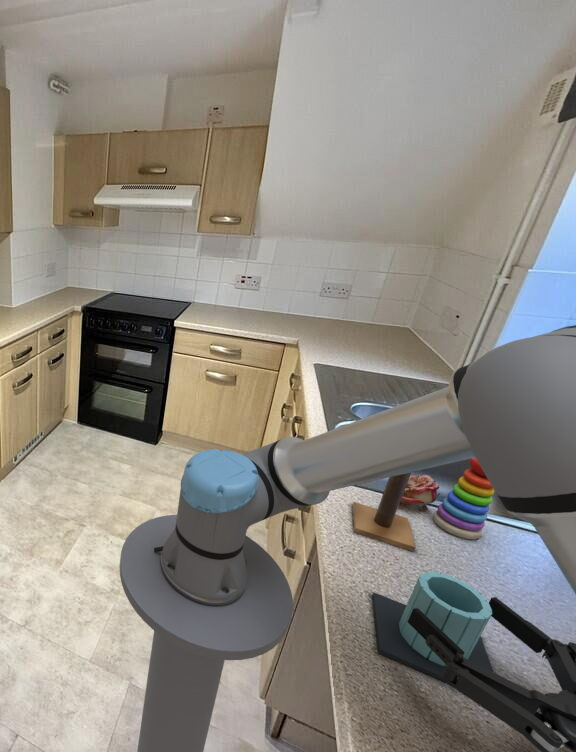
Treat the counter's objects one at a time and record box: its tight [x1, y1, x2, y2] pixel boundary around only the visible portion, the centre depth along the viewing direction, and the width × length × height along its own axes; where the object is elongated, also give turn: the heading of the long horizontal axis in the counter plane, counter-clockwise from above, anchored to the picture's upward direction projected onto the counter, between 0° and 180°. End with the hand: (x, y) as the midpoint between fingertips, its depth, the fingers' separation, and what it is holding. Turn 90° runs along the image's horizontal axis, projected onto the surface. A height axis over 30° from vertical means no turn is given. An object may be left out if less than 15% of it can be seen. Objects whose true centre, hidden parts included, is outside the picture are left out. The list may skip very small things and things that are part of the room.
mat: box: [371, 592, 495, 684], centre depth 64 cm, size 14×12×1 cm
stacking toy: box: [432, 457, 496, 540], centre depth 86 cm, size 8×8×19 cm
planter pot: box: [399, 571, 492, 667], centre depth 63 cm, size 8×8×10 cm
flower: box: [400, 473, 441, 511], centre depth 95 cm, size 10×9×8 cm
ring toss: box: [351, 472, 416, 552], centre depth 86 cm, size 10×10×16 cm
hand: (451, 609), depth 61 cm, fingers open, 13 cm apart
